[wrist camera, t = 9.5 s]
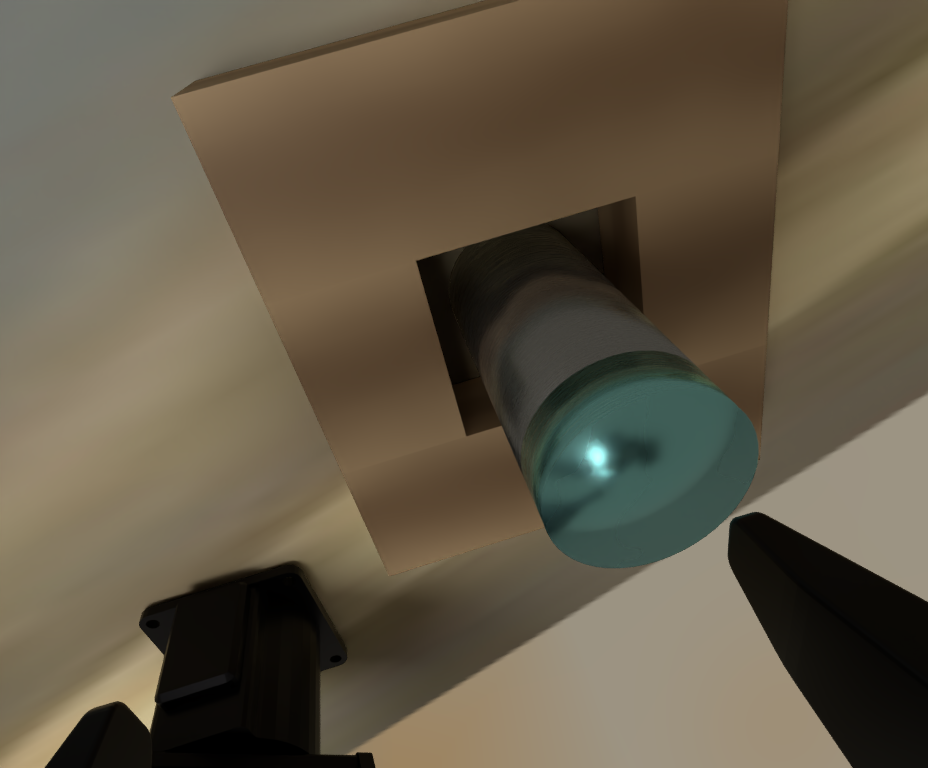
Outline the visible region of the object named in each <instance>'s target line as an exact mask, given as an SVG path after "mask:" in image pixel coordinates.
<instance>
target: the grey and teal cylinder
mask: <svg viewBox="0 0 928 768" xmlns="http://www.w3.org/2000/svg"><path fill="white" fill-rule="evenodd" d="M449 299H450V304H451V308H452V310H453V313H454V316H455V318H456V320H457V323H458V325H459V327H460V330H461V332H462V334H463V337H464V339H465V341H466V344H467V346H468V348H469V351H470V353H471V355H472V358H473V360H474V362H475V365H476V367H477V369H478V372H479V374H480V377H481V379H482V381H483V384H484V386H485V388H486V391H487V393H488V395H489V398H490V400H491V402H492V405H493V407H494V409H495V412H496V414H497V416H498V419H499V421H500V423H501V426H502V428H503V430H504V433H505V435H506V437H507V440H508V442H509V444H510V447H511V449H512V451H513V454H514V456H515V459H516V461H517V463H518V466H519V468H520V470H521V473H522V475H523V477H524V480H525V482H526V484H527V487H528V489H529V491H530V494H531V496H532V498H533V501H534V503H535V505H536V508H537V510H538V512H539V515H540V517H541V519H542V522H543V524H544V526H545V529H546V531H547V533H548V535H549V537H550V539H551V540H552V542H553V543H554V544H555V545H556V547H557V548H558V549H559V550H561V551H562V552H563V553H564V554H565V555H567V556H569V557H570V558H572V559H574V560H576V561H578V562H581V563H583V564H587V565H591V566H595V567H602V568H627V567H635V566H640V565H645V564H649V563H653V562H656V561H659V560H662V559H665V558H667V557H670V556H672V555H674V554H677V553H679V552H681V551H683V550H685V549H686V548H688V547H690V546H692V545H694V544H695V543H697V542H698V541H700V540H701V539H703V538H704V537H706V536H707V535H708V534H709V533H711V532H712V531H713V530H714V529H716V528H717V527H718V526H719V525H720V524H721V523H722V522H723V521H724V520H725V519H726V518H727V517H728V516H729V515H730V514H731V513H732V512H733V510H734V509H735V508H736V507H737V505H738V504H739V503H740V501H741V500H742V499H743V497H744V495H745V493H746V492H747V490H748V488H749V486H750V484H751V482H752V479H753V477H754V474H755V471H756V467H757V462H758V455H759V448H758V439H757V434H756V431H755V429H754V426H753V424H752V422H751V421H750V419H749V418H748V416H747V415H746V414H745V413H744V412H743V411H742V410H741V409H740V408H739V407H738V406H737V405H736V404H735V403H734V402H733V401H732V400H731V399H730V398H729V397H728V396H727V395H726V394H725V393H724V392H723V391H722V390H721V389H720V388H719V387H718V386H716V385H715V384H714V383H713V382H712V381H711V380H710V379H709V378H708V377H707V376H706V375H705V374H704V373H703V372H702V371H701V370H700V369H699V368H698V367H697V366H696V365H695V364H694V363H693V362H692V361H691V360H690V359H689V358H688V357H687V356H686V355H685V354H684V353H683V352H682V351H681V350H680V349H679V348H678V347H677V346H676V345H675V344H673V343H672V342H671V341H670V340H669V339H668V338H667V337H666V336H665V335H664V334H663V333H662V332H661V331H660V330H659V329H658V328H657V327H656V326H655V325H654V324H653V323H652V322H651V321H650V320H649V319H648V318H647V317H646V316H645V315H644V314H643V313H642V312H641V311H640V310H639V309H638V308H637V307H636V306H635V305H634V304H633V303H632V302H630V301H629V300H628V299H627V298H626V297H625V296H624V295H623V294H622V293H621V292H620V291H619V290H618V289H617V288H616V287H615V286H614V285H613V284H612V283H611V282H610V281H609V280H608V279H607V278H606V277H605V276H604V275H603V274H602V273H601V272H600V271H599V270H598V269H597V268H596V267H595V266H594V265H593V264H592V263H591V262H590V261H588V260H587V259H586V258H585V257H584V256H583V255H582V254H581V253H580V252H579V251H578V250H577V249H576V248H575V247H574V246H573V245H572V244H571V243H570V242H569V241H568V240H567V239H566V238H565V237H564V236H563V235H562V234H561V233H560V232H558V231H557V230H555V229H554V228H552V227H550V226H548V225H546V224H544V223H543V224H539V225H536V226H532V227H529V228H526V229H522V230H519V231H515V232H512V233H509V234H505V235H502V236H498V237H495V238H492V239H488V240H485V241H481V242H478V243H475V244H471V245H468V246H466V247H465V248H464V250H463V251H462V252H461V254H460V255H459V257H458V259H457V261H456V263H455V265H454V267H453V270H452V273H451V277H450V283H449Z"/></svg>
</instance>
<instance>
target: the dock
mask: <svg viewBox="0 0 928 768" xmlns="http://www.w3.org/2000/svg"><path fill="white" fill-rule="evenodd" d="M787 9H788V0H485V1H482V2H478V3H475V4H471V5H467V6H464V7H460V8H457V9H453V10H449V11H446V12H442V13H439V14H435V15H431V16H428V17H424V18H421V19H417V20H413V21H410V22H406V23H403V24H399V25H395V26H392V27H388V28H384V29H381V30H377V31H374V32H370V33H366V34H363V35H359V36H356V37H352V38H348V39H345V40H341V41H338V42H334V43H330V44H327V45H323V46H320V47H316V48H312V49H309V50H305V51H302V52H298V53H294V54H291V55H287V56H284V57H280V58H276V59H273V60H269V61H266V62H262V63H258V64H255V65H251V66H248V67H244V68H240V69H237V70H233V71H230V72H226V73H222V74H219V75H215V76H212V77H208V78H204V79H201V80H197V81H194V82H193V83H191V84H190V85H188V86H187V87H185V88H184V89H183V90H181V91H180V92H178V93H177V94H175V95H174V96H172V97H171V99H172V101H173V103H174V105H175V108H176V110H177V112H178V114H179V116H180V119H181V121H182V123H183V125H184V127H185V130H186V132H187V134H188V136H189V138H190V141H191V143H192V145H193V147H194V149H195V151H196V154H197V156H198V158H199V160H200V162H201V165H202V167H203V169H204V171H205V173H206V176H207V178H208V180H209V182H210V184H211V187H212V189H213V191H214V193H215V195H216V198H217V200H218V202H219V204H220V206H221V209H222V211H223V213H224V215H225V217H226V219H227V222H228V224H229V226H230V228H231V230H232V233H233V235H234V237H235V239H236V241H237V244H238V246H239V248H240V250H241V252H242V255H243V257H244V259H245V261H246V263H247V266H248V268H249V270H250V272H251V274H252V277H253V279H254V281H255V283H256V285H257V288H258V290H259V292H260V294H261V296H262V298H263V301H264V303H265V305H266V307H267V309H268V312H269V314H270V316H271V318H272V320H273V323H274V325H275V327H276V329H277V331H278V334H279V336H280V338H281V340H282V342H283V345H284V347H285V349H286V351H287V353H288V356H289V358H290V360H291V362H292V364H293V367H294V369H295V371H296V373H297V375H298V377H299V380H300V382H301V384H302V386H303V388H304V391H305V393H306V395H307V397H308V399H309V402H310V404H311V406H312V408H313V410H314V413H315V415H316V417H317V419H318V421H319V424H320V426H321V428H322V430H323V432H324V435H325V437H326V439H327V441H328V443H329V445H330V448H331V450H332V452H333V454H334V456H335V459H336V461H337V463H338V465H339V467H340V470H341V472H342V474H343V476H344V478H345V481H346V483H347V485H348V487H349V489H350V492H351V494H352V496H353V498H354V500H355V503H356V505H357V507H358V509H359V511H360V514H361V516H362V518H363V520H364V522H365V524H366V527H367V529H368V531H369V533H370V535H371V538H372V540H373V542H374V544H375V546H376V549H377V551H378V553H379V555H380V557H381V560H382V562H383V564H384V566H385V568H386V571H387V573H388V575H389V576H392V575H395V574H398V573H402V572H405V571H408V570H411V569H414V568H417V567H421V566H424V565H427V564H430V563H433V562H436V561H440V560H443V559H446V558H449V557H452V556H456V555H459V554H462V553H465V552H468V551H471V550H475V549H478V548H481V547H484V546H487V545H490V544H494V543H497V542H500V541H503V540H506V539H510V538H513V537H516V536H519V535H522V534H525V533H529V532H532V531H535V530H538V529H541V528H544V527H545V526H544V524H543V522H542V519H541V517H540V515H539V512H538V510H537V508H536V505H535V503H534V501H533V498H532V496H531V494H530V491H529V489H528V487H527V484H526V482H525V480H524V477H523V475H522V473H521V470H520V468H519V466H518V463H517V461H516V459H515V456H514V454H513V451H512V449H511V447H510V444H509V442H508V440H507V437H506V435H505V433H504V430H503V428H502V426H501V423H500V421H499V419H498V416H497V414H496V412H495V409H494V407H493V405H492V402H491V400H490V398H489V395H488V393H487V391H486V388H485V386H484V384H483V381H482V379H481V377H478V378H475V379H471V380H468V381H465V382H461V383H458V384H455V385H451V381H450V378H449V374H448V371H447V367H446V364H445V360H444V357H443V353H442V350H441V347H440V343H439V340H438V336H437V333H436V329H435V326H434V322H433V319H432V315H431V312H430V308H429V305H428V301H427V298H426V295H425V291H424V288H423V284H422V281H421V277H420V274H419V270H418V267H417V263H416V261H417V260H420V259H423V258H427V257H430V256H434V255H437V254H440V253H444V252H447V251H451V250H454V249H457V248H461V247H464V246H468V245H471V244H475V243H478V242H481V241H485V240H488V239H492V238H495V237H498V236H502V235H505V234H509V233H512V232H515V231H519V230H522V229H526V228H529V227H532V226H536V225H539V224H543V223H546V222H549V221H553V220H556V219H560V218H563V217H566V216H570V215H573V214H577V213H580V212H583V211H587V210H590V209H594V208H598V217H599V227H600V236H601V246H602V256H603V265H604V275H605V277H606V278H607V279H608V280H609V281H610V282H611V283H612V284H613V285H614V286H615V287H616V288H617V289H618V290H619V291H620V292H621V293H622V294H623V295H624V296H625V297H626V298H627V299H628V300H629V301H630V302H632V303H633V304H634V305H635V306H636V307H637V308H638V309H639V310H640V311H641V312H642V313H643V314H644V315H645V316H646V317H647V318H648V319H649V320H650V321H651V322H652V323H653V324H654V325H655V326H656V327H657V328H658V329H659V330H660V331H661V332H662V333H663V334H664V335H665V336H666V337H667V338H668V339H669V340H670V341H671V342H672V343H673V344H675V345H676V346H677V347H678V348H679V349H680V350H681V351H682V352H683V353H684V354H685V355H686V356H687V357H688V358H689V359H690V360H691V361H692V362H693V363H694V364H695V365H696V366H697V367H698V368H699V369H700V370H701V371H702V372H703V373H704V374H705V375H706V376H707V377H708V378H709V379H710V380H711V381H712V382H713V383H714V384H715V385H716V386H718V387H719V388H720V389H721V390H722V391H723V392H724V393H725V394H726V395H727V396H728V397H729V398H730V399H731V400H732V401H733V402H734V403H735V404H736V405H737V406H738V407H739V408H740V409H741V410H742V411H743V412H744V413H745V414H746V415H747V416H748V418H749V419H750V421H751V422H752V424H753V426H754V429H755V431H756V434H757V439H758V448H759V455H758V460H760V447H761V431H762V415H763V398H764V382H765V366H766V350H767V333H768V317H769V301H770V285H771V268H772V252H773V236H774V220H775V203H776V187H777V171H778V155H779V138H780V122H781V106H782V90H783V74H784V57H785V41H786V25H787Z"/></svg>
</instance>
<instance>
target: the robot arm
mask: <svg viewBox="0 0 928 768" xmlns="http://www.w3.org/2000/svg"><path fill="white" fill-rule="evenodd" d="M728 560H729V564H730V566H731V569H732V571H733V573H734V575H735V577H736V579H737V580H738V582H739V584H740V586H741V588H742V590H743V591H744V593H745V595H746V597H747V599H748V601H749V603H750V604H751V606H752V608H753V610H754V612H755V614H756V616H757V617H758V619H759V621H760V623H761V625H762V627H763V628H764V630H765V632H766V634H767V636H768V638H769V640H770V641H771V643H772V645H773V647H774V649H775V651H776V653H777V654H778V656H779V658H780V660H781V661H782V663H783V665H784V667H785V668H786V670H787V671H788V673H789V674H790V676H791V677H792V679H793V680H794V682H795V684H796V685H797V686H798V688H799V689H800V691H801V692H802V694H803V695H804V697H805V698H806V700H807V701H808V702H809V704H810V706H811V707H812V709H813V710H814V711H815V713H816V714H817V716H818V717H819V719H820V720H821V722H822V723H823V725H824V726H825V728H826V729H827V731H828V732H829V734H830V735H831V737H832V738H833V740H834V741H835V742H836V744H837V745H838V747H839V748H840V750H841V751H842V753H843V754H844V756H845V757H846V759H847V760H848V762H849V763H850V764H851V766H852V767H853V768H928V602H927V601H925V600H923V599H922V598H920V597H918V596H916V595H914V594H912V593H910V592H908V591H906V590H905V589H903V588H901V587H899V586H897V585H895V584H894V583H892V582H890V581H888V580H886V579H884V578H882V577H880V576H879V575H877V574H875V573H873V572H871V571H869V570H868V569H866V568H864V567H862V566H860V565H858V564H856V563H855V562H853V561H851V560H849V559H847V558H845V557H843V556H841V555H840V554H838V553H836V552H834V551H832V550H830V549H828V548H827V547H825V546H823V545H821V544H819V543H817V542H815V541H813V540H812V539H810V538H808V537H806V536H804V535H802V534H801V533H799V532H797V531H795V530H793V529H791V528H789V527H787V526H786V525H784V524H782V523H780V522H778V521H776V520H774V519H773V518H770V517H769V516H767V515H765V514H763V513H759V512H752V513H749V514H746V515H742V516H739V517H735V518H733V519H732V521H731V523H730V528H729V543H728ZM286 577H292V578H286ZM139 626H140V628H141V629H142V630H143V632H144V633H145V634H146V635H147V636H148V637H149V638H150V640H151V641H152V642H153V643H154V644H155V645H156V646H157V648H158V649H159V650H160V651H161V652H162V653H163V654H164V660H163V664H162V668H161V673H160V677H159V681H158V685H157V690H156V694H155V702H156V707H155V712H154V716H153V720H152V724H151V729H150V733H149V730H148V729H147V727H146V726H145V725H144V724H143V723H142V722H141V721H140V720H139V719H138V717H137V716H136V715H135V714H134V713H133V712H132V711H131V710H130V709H129V708H128V707H127V705H125V704H124V703H122V702H119V701H117V702H113V703H109V704H106V705H102V706H99V707H96V708H93V709H91V710H90V711H88V712H87V713H86V714H85V715H84V716H83V717H82V718H81V720H80V721H79V722H78V724H77V725H76V726H75V728H74V729H73V730H72V732H71V733H70V734H69V736H68V737H67V738H66V740H65V741H64V742H63V744H62V745H61V746H60V748H59V749H58V750H57V752H56V753H55V754H54V756H53V757H52V758H51V760H50V761H49V763H48V764H47V765H46V767H45V768H375V764H374V759H373V755H372V753H359V752H357V753H356V755H320V671H323V670H326V669H329V668H332V667H335V666H339V665H341V664H343V663H344V662H345V661H346V660H347V648H346V646H345V644H344V643H343V641H342V639H341V638H340V636H339V634H338V632H337V631H336V629H335V627H334V625H333V624H332V622H331V620H330V618H329V617H328V615H327V613H326V611H325V610H324V608H323V606H322V604H321V603H320V601H319V599H318V598H317V596H316V594H315V592H314V591H313V589H312V587H311V585H310V584H309V582H308V580H307V578H306V577H305V575H304V573H303V571H302V570H301V569H300V568H299V567H297V566H295V565H286V566H282V567H279V568H276V569H272V570H269V571H266V572H263V573H260V574H256V575H253V576H250V577H247V578H244V579H240V580H237V581H234V582H231V583H228V584H224V585H221V586H218V587H215V588H212V589H208V590H205V591H202V592H199V593H196V594H192V595H189V596H186V597H183V598H180V599H176V600H173V601H170V602H167V603H163V604H160V605H157V606H154V607H151V608H148V609H146V610H144V611H143V612H142V615H141V618H140V622H139Z"/></svg>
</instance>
